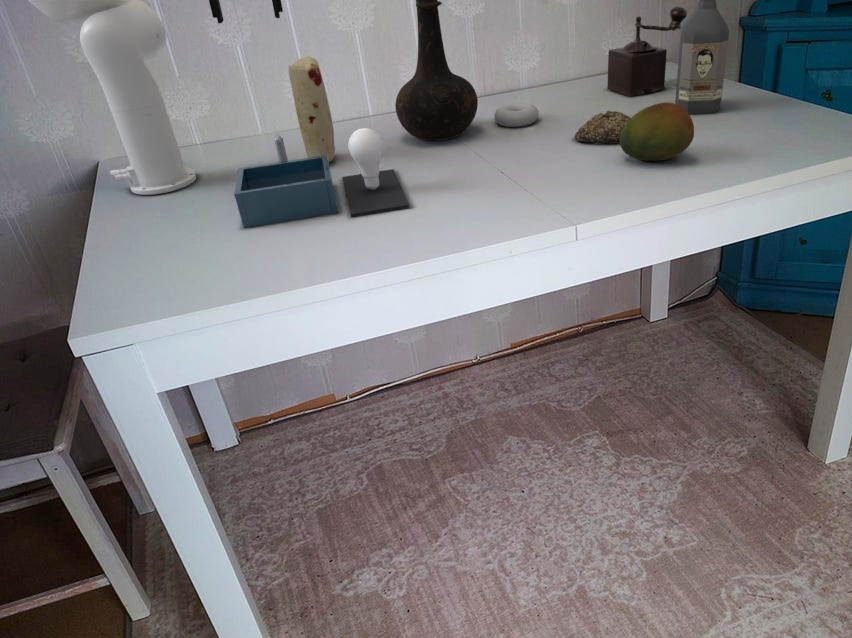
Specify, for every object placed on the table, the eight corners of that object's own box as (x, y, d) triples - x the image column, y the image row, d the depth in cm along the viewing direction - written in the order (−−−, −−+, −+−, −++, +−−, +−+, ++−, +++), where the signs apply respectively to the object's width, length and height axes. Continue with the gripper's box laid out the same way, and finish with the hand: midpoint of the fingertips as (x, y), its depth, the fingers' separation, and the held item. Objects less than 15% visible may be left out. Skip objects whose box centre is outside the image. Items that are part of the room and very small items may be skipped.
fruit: (700, 163, 127) (706, 106, 121) (637, 175, 124) (640, 117, 119) (668, 146, 136) (672, 92, 130) (609, 156, 134) (611, 102, 128)
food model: (341, 164, 142) (321, 60, 131) (308, 170, 141) (285, 65, 130) (337, 151, 150) (318, 51, 139) (306, 156, 149) (284, 56, 138)
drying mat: (351, 217, 118) (350, 213, 118) (342, 179, 134) (342, 176, 134) (409, 207, 120) (409, 204, 119) (394, 171, 136) (393, 168, 136)
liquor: (674, 104, 160) (685, -47, 143) (715, 102, 159) (732, -50, 142) (677, 115, 153) (690, -42, 136) (721, 113, 151) (739, -46, 134)
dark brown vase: (404, 152, 146) (384, 3, 130) (395, 129, 160) (376, -7, 145) (487, 140, 148) (477, -7, 132) (471, 119, 163) (460, -16, 147)
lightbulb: (396, 187, 127) (387, 126, 121) (371, 198, 123) (360, 135, 117) (375, 181, 130) (365, 121, 124) (349, 191, 127) (338, 130, 121)
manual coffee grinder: (631, 98, 167) (634, 15, 157) (606, 89, 176) (608, 10, 166) (684, 87, 172) (691, 6, 162) (657, 79, 181) (662, 2, 171)
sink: (243, 228, 118) (226, 166, 112) (247, 196, 131) (231, 139, 125) (338, 212, 120) (326, 151, 114) (332, 182, 133) (321, 126, 127)
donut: (525, 131, 152) (546, 117, 159) (524, 115, 150) (546, 102, 157) (486, 127, 157) (509, 114, 164) (485, 111, 155) (508, 99, 162)
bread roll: (632, 146, 138) (633, 120, 135) (570, 144, 141) (570, 119, 139) (641, 127, 147) (643, 102, 145) (584, 126, 151) (584, 102, 148)
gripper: (279, -102, 116) (299, 12, 126) (171, -95, 113) (200, 21, 123) (278, -102, 110) (300, 18, 119) (164, -95, 107) (195, 27, 117)
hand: (249, 19), depth 121 cm, fingers open, 9 cm apart
